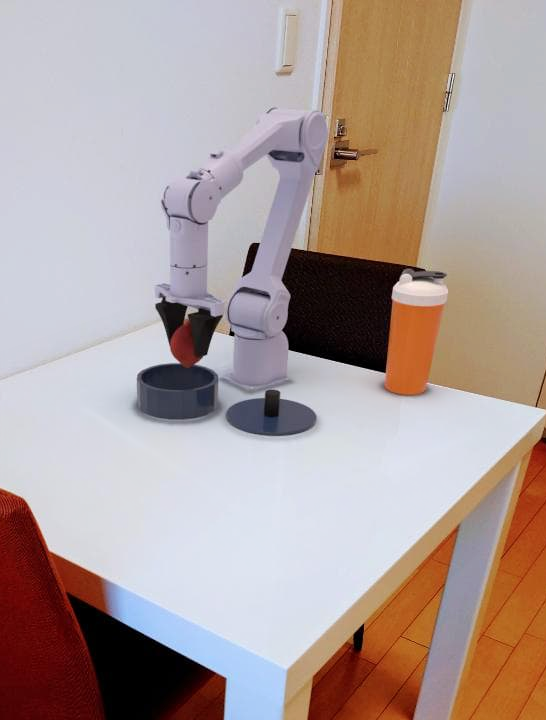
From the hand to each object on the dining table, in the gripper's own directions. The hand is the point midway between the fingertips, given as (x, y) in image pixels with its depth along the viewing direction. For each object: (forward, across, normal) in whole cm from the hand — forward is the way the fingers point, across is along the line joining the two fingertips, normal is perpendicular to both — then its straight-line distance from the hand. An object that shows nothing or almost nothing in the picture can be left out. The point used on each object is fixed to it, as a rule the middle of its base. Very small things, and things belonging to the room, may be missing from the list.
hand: (188, 350), depth 130 cm
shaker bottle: (+10, +18, +36) cm, 41 cm away
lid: (+9, +13, +7) cm, 17 cm away
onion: (+3, 0, 0) cm, 3 cm away
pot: (+10, -1, -1) cm, 10 cm away
